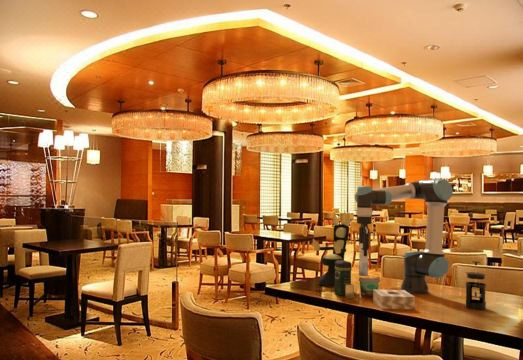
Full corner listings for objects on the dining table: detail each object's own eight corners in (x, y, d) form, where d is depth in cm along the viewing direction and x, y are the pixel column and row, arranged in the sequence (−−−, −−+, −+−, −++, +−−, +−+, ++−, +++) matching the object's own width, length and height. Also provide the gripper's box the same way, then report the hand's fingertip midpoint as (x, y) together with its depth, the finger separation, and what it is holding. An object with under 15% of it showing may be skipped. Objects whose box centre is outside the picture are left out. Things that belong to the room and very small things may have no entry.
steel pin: (366, 274, 235) (367, 243, 236) (368, 276, 231) (369, 244, 231) (358, 274, 235) (358, 243, 236) (360, 276, 231) (360, 244, 231)
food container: (363, 297, 243) (364, 279, 243) (358, 295, 249) (358, 276, 249) (384, 297, 246) (384, 278, 246) (378, 294, 252) (378, 276, 252)
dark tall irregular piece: (310, 284, 278) (311, 210, 279) (333, 280, 293) (334, 210, 294) (334, 289, 264) (336, 211, 265) (357, 285, 279) (359, 211, 280)
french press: (473, 304, 233) (474, 259, 234) (491, 308, 225) (491, 261, 225) (459, 307, 227) (459, 260, 228) (476, 311, 219) (476, 263, 219)
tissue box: (404, 301, 235) (404, 290, 236) (414, 309, 219) (414, 296, 220) (373, 301, 235) (373, 289, 236) (381, 308, 219) (381, 296, 220)
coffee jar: (353, 295, 247) (354, 261, 248) (340, 296, 244) (341, 261, 245) (344, 292, 256) (344, 259, 257) (331, 292, 253) (332, 259, 254)
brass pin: (352, 297, 243) (353, 284, 244) (354, 299, 239) (354, 285, 239) (344, 297, 243) (344, 283, 244) (346, 299, 239) (346, 285, 239)
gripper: (353, 215, 243) (352, 259, 242) (360, 216, 225) (360, 264, 224) (367, 215, 243) (366, 259, 242) (375, 217, 225) (375, 264, 224)
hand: (363, 261), depth 233 cm, fingers closed on steel pin, 4 cm apart
